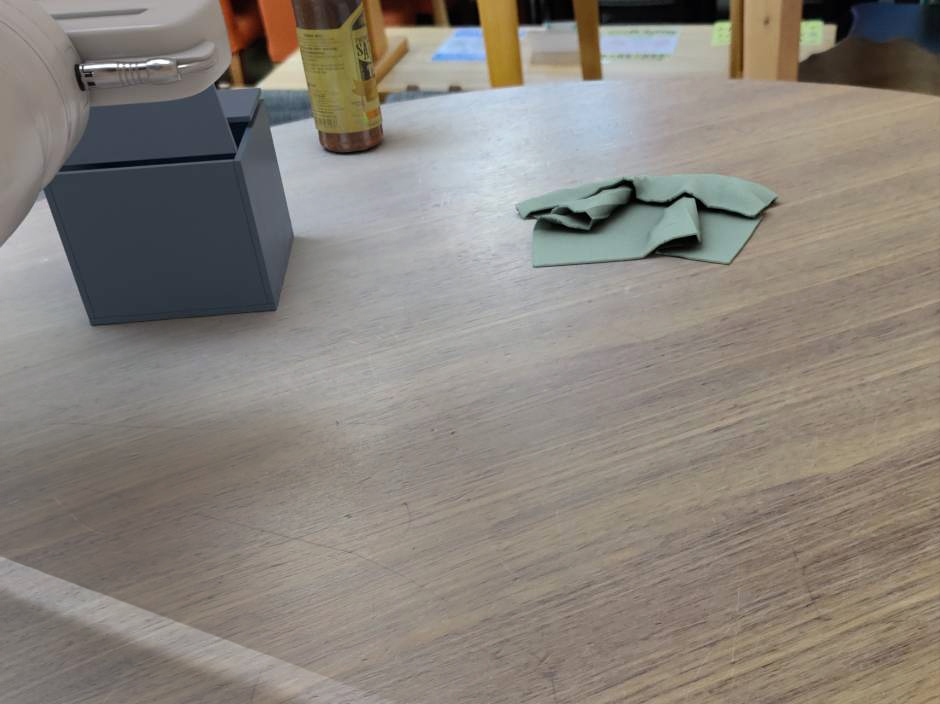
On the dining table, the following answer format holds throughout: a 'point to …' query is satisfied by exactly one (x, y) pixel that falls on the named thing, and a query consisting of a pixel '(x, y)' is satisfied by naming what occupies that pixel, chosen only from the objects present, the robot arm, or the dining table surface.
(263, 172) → the carton
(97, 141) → the flap
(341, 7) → the sauce bottle
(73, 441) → the dining table surface
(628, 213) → the cloth
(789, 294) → the dining table surface
